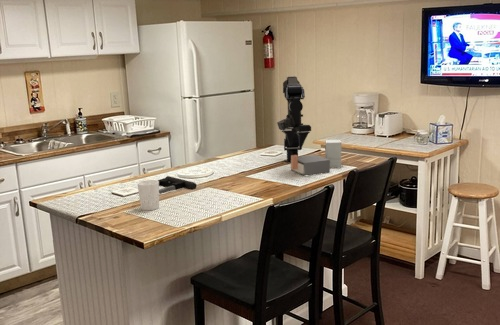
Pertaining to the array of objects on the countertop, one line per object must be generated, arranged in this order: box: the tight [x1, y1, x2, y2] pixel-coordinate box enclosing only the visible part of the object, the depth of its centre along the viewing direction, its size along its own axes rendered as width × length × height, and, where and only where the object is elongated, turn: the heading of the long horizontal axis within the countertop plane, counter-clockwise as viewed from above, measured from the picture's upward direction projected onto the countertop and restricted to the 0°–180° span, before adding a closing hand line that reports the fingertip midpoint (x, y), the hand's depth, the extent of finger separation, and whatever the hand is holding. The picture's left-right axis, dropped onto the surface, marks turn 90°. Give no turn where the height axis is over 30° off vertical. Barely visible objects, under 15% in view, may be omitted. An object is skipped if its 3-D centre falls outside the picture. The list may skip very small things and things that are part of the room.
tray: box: [290, 154, 305, 175], centre depth 244 cm, size 12×15×8 cm
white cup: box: [137, 179, 160, 211], centre depth 196 cm, size 8×8×10 cm
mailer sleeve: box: [290, 154, 331, 176], centre depth 245 cm, size 14×13×6 cm
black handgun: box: [156, 175, 197, 195], centre depth 224 cm, size 3×20×16 cm
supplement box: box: [324, 139, 342, 169], centre depth 253 cm, size 7×7×13 cm
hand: (295, 146), depth 240 cm, fingers open, 9 cm apart
